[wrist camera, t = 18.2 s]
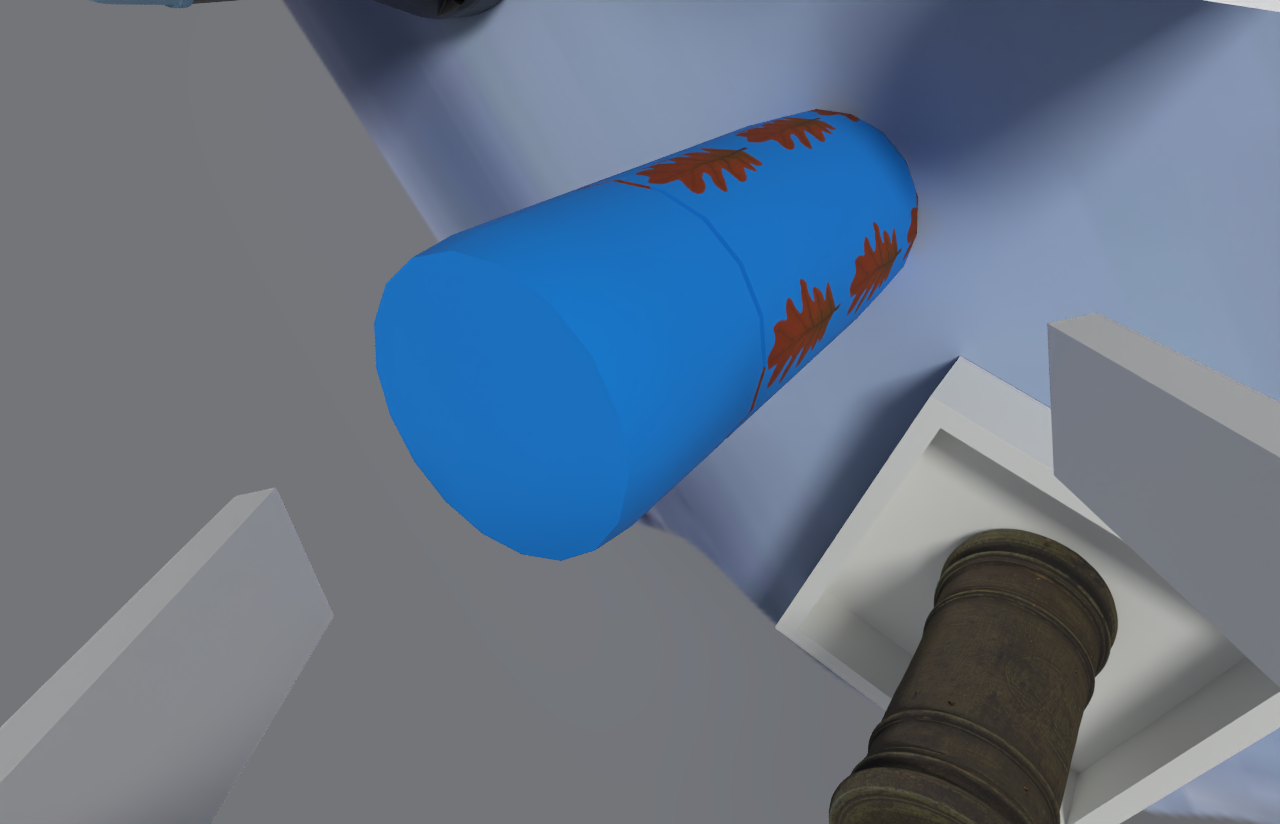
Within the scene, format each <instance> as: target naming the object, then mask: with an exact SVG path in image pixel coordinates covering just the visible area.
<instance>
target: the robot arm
mask: <svg viewBox="0 0 1280 824" xmlns="http://www.w3.org/2000/svg"><path fill="white" fill-rule="evenodd" d="M91 1H94V2H98V3H104V4H140V5H142V4H144V5H148V4H149V5H153V4H154V5H166V6H168V7H171V8H185V7H189V6H190V5H191V4H195V3H208V2H221V1H234V0H91ZM374 1H377V2H380V3H382V4H385V5H388V6H391V7H394V8H397V9H400V10H402V11H405V12H408V13H411V14H414V15H417V16H420V17H426V18H433V19H446V18H456V17H466V16H472V15H476V14H479V13H481V12H484V11H486V10H488V9H489V8H491V7H492V6H494V5H495V4H496V3H498V2H499V1H500V0H374ZM1047 327H1048V350H1049V374H1050V397H1051V421H1052V444H1053V468H1054V476H1055V477H1056V478H1057V479H1058V480H1059V481H1060V482H1061V483H1063V484H1064V485H1065V486H1066V487H1067V488H1068V489H1069V490H1070V491H1071V492H1072V493H1073V494H1074V495H1075V496H1076V497H1077V498H1078V499H1080V500H1081V501H1082V502H1083V503H1084V504H1085V505H1086V506H1087V507H1088V508H1089V509H1090V510H1091V511H1092V512H1093V513H1094V514H1095V515H1097V516H1098V517H1099V518H1100V519H1101V520H1102V521H1103V522H1104V523H1105V524H1106V525H1107V526H1108V527H1109V528H1110V529H1111V530H1112V531H1114V532H1115V533H1116V534H1117V535H1118V536H1119V537H1120V538H1121V539H1122V540H1123V541H1124V542H1125V543H1126V544H1127V545H1128V546H1129V547H1131V548H1132V549H1133V550H1134V551H1135V552H1136V553H1137V554H1138V555H1139V556H1140V557H1141V558H1142V559H1143V560H1144V561H1145V562H1147V563H1148V564H1149V565H1150V566H1151V567H1152V568H1153V569H1154V570H1155V571H1156V572H1157V573H1158V574H1159V575H1160V576H1161V577H1162V578H1164V579H1165V580H1166V581H1167V582H1168V583H1169V584H1170V585H1171V586H1172V587H1173V588H1174V589H1175V590H1176V591H1177V592H1178V593H1179V594H1181V595H1182V596H1183V597H1184V598H1185V599H1186V600H1187V601H1188V602H1189V603H1190V604H1191V605H1192V606H1193V607H1194V608H1195V609H1196V610H1198V611H1199V612H1200V613H1201V614H1202V615H1203V616H1204V617H1205V618H1206V619H1207V620H1208V621H1209V622H1210V623H1211V624H1212V625H1213V626H1215V627H1216V628H1217V629H1218V630H1219V631H1220V632H1221V633H1222V634H1223V635H1224V636H1225V637H1226V638H1227V639H1228V640H1229V641H1230V642H1232V643H1233V644H1234V645H1235V646H1236V647H1237V648H1238V649H1239V650H1240V651H1241V652H1242V653H1243V654H1244V655H1245V656H1246V657H1247V658H1249V659H1250V660H1251V661H1252V662H1253V663H1254V664H1255V665H1256V666H1257V667H1258V668H1259V669H1260V670H1261V671H1262V672H1263V673H1265V674H1266V675H1267V676H1268V677H1269V678H1270V679H1271V680H1272V681H1273V682H1274V683H1275V684H1276V685H1277V686H1278V687H1279V688H1280V402H1278V401H1276V400H1274V399H1272V398H1270V397H1267V396H1265V395H1263V394H1261V393H1259V392H1257V391H1255V390H1253V389H1251V388H1249V387H1247V386H1245V385H1243V384H1241V383H1239V382H1237V381H1235V380H1233V379H1231V378H1229V377H1227V376H1225V375H1223V374H1221V373H1219V372H1217V371H1215V370H1212V369H1210V368H1208V367H1206V366H1204V365H1202V364H1200V363H1198V362H1196V361H1194V360H1192V359H1190V358H1188V357H1186V356H1184V355H1182V354H1180V353H1178V352H1176V351H1174V350H1172V349H1170V348H1168V347H1166V346H1164V345H1162V344H1159V343H1157V342H1155V341H1153V340H1151V339H1149V338H1147V337H1145V336H1143V335H1141V334H1139V333H1137V332H1135V331H1133V330H1131V329H1129V328H1127V327H1125V326H1123V325H1121V324H1119V323H1117V322H1115V321H1113V320H1111V319H1109V318H1107V317H1104V316H1102V315H1100V314H1098V313H1093V314H1089V315H1084V316H1079V317H1075V318H1070V319H1065V320H1060V321H1056V322H1051V323H1047ZM333 617H334V615H333V613H332V611H331V608H330V606H329V604H328V602H327V599H326V597H325V595H324V593H323V591H322V588H321V586H320V584H319V582H318V579H317V577H316V575H315V573H314V570H313V568H312V566H311V564H310V562H309V559H308V557H307V555H306V553H305V550H304V548H303V546H302V544H301V542H300V539H299V537H298V535H297V533H296V531H295V528H294V526H293V524H292V522H291V519H290V517H289V515H288V513H287V510H286V508H285V506H284V504H283V502H282V500H281V497H280V495H279V493H278V491H277V488H271V489H266V490H262V491H257V492H252V493H247V494H243V495H238V496H235V497H234V498H233V499H232V500H231V501H230V502H229V503H228V504H227V505H226V506H225V507H224V508H223V509H222V510H221V511H220V512H219V513H218V514H216V515H215V516H214V517H213V519H211V520H210V521H209V522H208V523H207V524H206V525H205V526H204V527H203V528H202V529H201V530H200V531H199V532H198V533H197V534H196V535H195V536H194V538H192V539H191V540H190V541H189V542H188V543H187V544H186V545H185V546H184V547H183V548H182V549H181V550H180V551H179V552H178V553H177V554H176V555H175V556H174V557H173V558H172V559H171V560H170V561H169V562H168V563H167V564H166V565H165V566H164V567H163V568H162V569H161V570H160V571H159V572H158V573H157V574H156V575H155V576H154V577H153V578H152V579H151V580H150V581H149V582H148V583H147V584H146V585H144V586H143V588H141V590H139V591H138V592H137V593H136V594H135V595H134V596H133V597H132V598H131V599H130V600H129V601H128V602H127V603H126V604H125V605H124V606H123V607H122V608H121V609H120V610H119V611H118V612H117V613H116V614H115V615H114V616H113V617H112V618H111V619H110V620H109V621H108V622H107V623H106V624H105V625H104V626H103V627H102V628H101V629H100V630H99V631H98V632H97V633H96V634H95V635H94V636H93V637H92V638H91V639H90V640H89V641H88V642H87V643H86V644H85V645H84V646H83V647H82V648H81V649H80V650H79V651H78V652H76V654H75V655H73V656H72V657H71V658H70V660H68V661H67V662H66V663H65V664H64V665H63V666H62V667H61V668H60V669H59V670H58V671H57V672H56V673H55V674H54V675H53V676H52V677H51V678H50V679H49V680H48V681H47V682H46V683H45V684H44V685H43V686H42V687H41V688H40V689H39V690H38V691H37V692H36V693H35V694H34V695H33V696H32V697H31V698H30V699H29V700H28V701H27V702H26V703H25V704H24V705H23V706H22V707H21V708H20V709H19V710H18V711H17V712H16V713H15V714H14V715H13V716H12V717H11V718H10V719H9V720H8V721H7V722H6V723H4V724H3V725H2V727H1V728H0V824H211V823H212V821H213V819H214V817H215V816H216V814H217V812H218V811H219V809H220V807H221V805H222V804H223V802H224V800H225V799H226V797H227V796H228V794H229V792H230V790H231V789H232V787H233V785H234V784H235V782H236V780H237V779H238V777H239V775H240V774H241V772H242V770H243V769H244V767H245V765H246V764H247V762H248V760H249V759H250V757H251V755H252V753H253V752H254V750H255V748H256V747H257V745H258V743H259V742H260V740H261V738H262V737H263V735H264V733H265V732H266V730H267V728H268V727H269V725H270V723H271V722H272V720H273V718H274V716H275V715H276V713H277V711H278V710H279V708H280V706H281V704H282V703H283V701H284V700H285V698H286V696H287V694H288V693H289V691H290V690H291V688H292V686H293V684H294V683H295V681H296V679H297V678H298V676H299V674H300V673H301V671H302V669H303V668H304V666H305V664H306V663H307V661H308V659H309V657H310V656H311V654H312V652H313V651H314V649H315V647H316V646H317V644H318V642H319V641H320V639H321V637H322V636H323V634H324V632H325V631H326V629H327V627H328V626H329V624H330V622H331V620H332V619H333Z"/></svg>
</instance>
